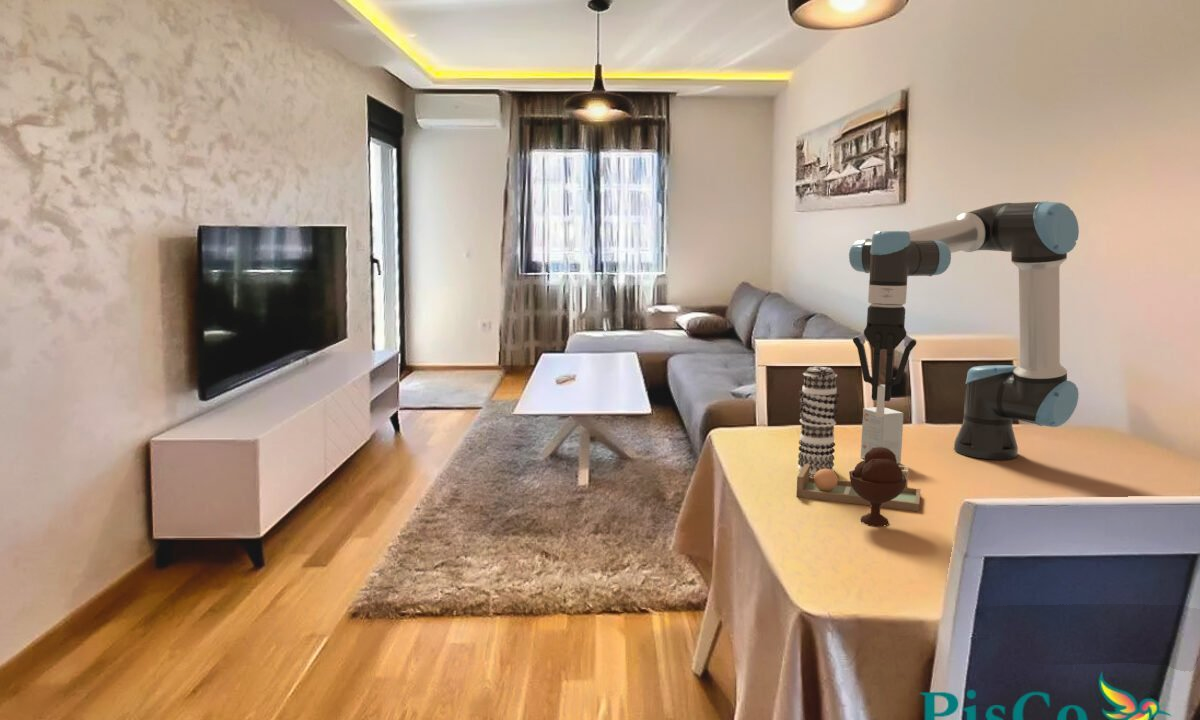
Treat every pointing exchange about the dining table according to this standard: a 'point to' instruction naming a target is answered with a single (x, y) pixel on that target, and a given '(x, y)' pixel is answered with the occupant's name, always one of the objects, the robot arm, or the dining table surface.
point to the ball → (825, 480)
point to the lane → (852, 493)
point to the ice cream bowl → (877, 482)
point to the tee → (905, 473)
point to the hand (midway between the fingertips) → (880, 415)
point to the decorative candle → (817, 419)
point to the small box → (882, 431)
